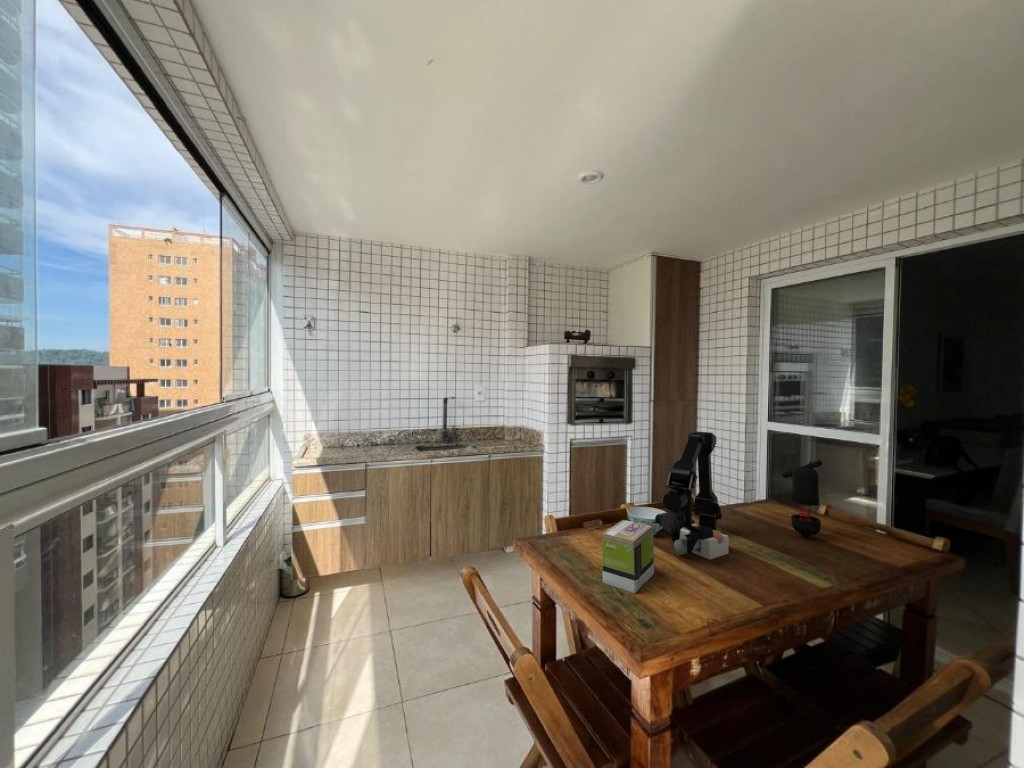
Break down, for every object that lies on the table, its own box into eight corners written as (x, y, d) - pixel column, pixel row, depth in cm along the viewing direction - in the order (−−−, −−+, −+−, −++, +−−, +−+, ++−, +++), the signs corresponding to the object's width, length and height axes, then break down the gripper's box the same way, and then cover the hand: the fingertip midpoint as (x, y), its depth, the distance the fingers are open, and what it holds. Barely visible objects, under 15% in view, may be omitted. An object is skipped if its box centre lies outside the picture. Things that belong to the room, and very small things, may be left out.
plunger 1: (692, 528, 144) (692, 521, 144) (699, 531, 141) (699, 524, 141) (687, 530, 142) (687, 523, 142) (694, 532, 140) (694, 525, 140)
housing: (696, 541, 145) (696, 524, 145) (728, 553, 134) (728, 535, 134) (678, 546, 140) (678, 529, 140) (709, 559, 130) (709, 541, 130)
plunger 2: (715, 536, 136) (715, 529, 136) (723, 539, 133) (723, 532, 133) (710, 538, 134) (710, 530, 135) (717, 541, 132) (717, 533, 132)
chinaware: (661, 543, 143) (661, 521, 143) (621, 533, 152) (621, 513, 152) (672, 531, 155) (673, 511, 155) (635, 523, 164) (635, 504, 164)
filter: (829, 541, 146) (829, 459, 146) (815, 545, 142) (815, 461, 142) (789, 529, 158) (789, 454, 158) (776, 533, 154) (775, 455, 154)
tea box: (623, 565, 125) (623, 518, 125) (654, 574, 119) (655, 525, 119) (601, 583, 114) (601, 531, 114) (635, 595, 107) (635, 540, 107)
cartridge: (704, 543, 141) (704, 530, 141) (716, 547, 137) (716, 534, 137) (673, 551, 134) (673, 538, 134) (685, 556, 129) (685, 542, 130)
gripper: (643, 500, 137) (643, 545, 137) (691, 516, 120) (691, 567, 120) (666, 496, 142) (666, 540, 142) (714, 510, 126) (714, 560, 126)
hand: (682, 551), depth 132 cm, fingers closed on cartridge, 5 cm apart
